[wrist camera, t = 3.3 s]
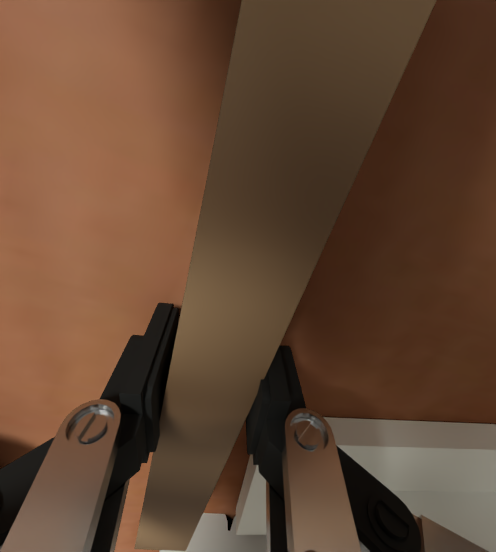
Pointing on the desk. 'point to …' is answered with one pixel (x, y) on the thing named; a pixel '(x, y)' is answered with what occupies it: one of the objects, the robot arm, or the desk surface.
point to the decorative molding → (222, 537)
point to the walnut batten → (267, 221)
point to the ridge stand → (410, 473)
